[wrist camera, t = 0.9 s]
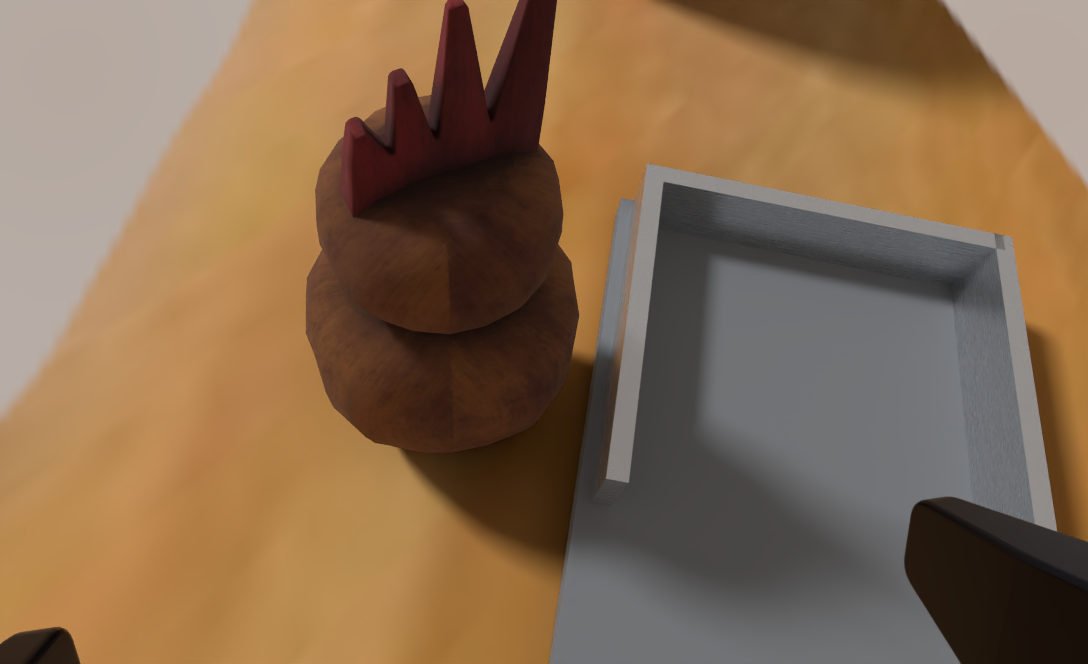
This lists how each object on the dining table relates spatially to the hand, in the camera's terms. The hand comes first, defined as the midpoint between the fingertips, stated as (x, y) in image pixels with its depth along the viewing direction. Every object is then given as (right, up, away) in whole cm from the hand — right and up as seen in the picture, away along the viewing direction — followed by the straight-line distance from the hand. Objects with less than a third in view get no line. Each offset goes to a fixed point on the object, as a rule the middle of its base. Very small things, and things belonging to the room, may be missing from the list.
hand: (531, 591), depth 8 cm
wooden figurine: (-3, +1, +16) cm, 16 cm away
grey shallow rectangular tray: (+8, -2, +16) cm, 18 cm away
